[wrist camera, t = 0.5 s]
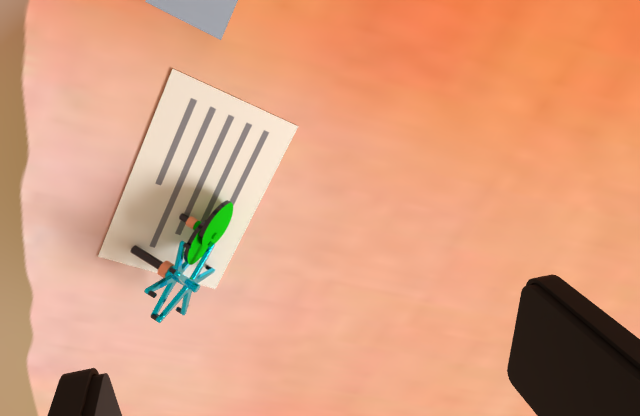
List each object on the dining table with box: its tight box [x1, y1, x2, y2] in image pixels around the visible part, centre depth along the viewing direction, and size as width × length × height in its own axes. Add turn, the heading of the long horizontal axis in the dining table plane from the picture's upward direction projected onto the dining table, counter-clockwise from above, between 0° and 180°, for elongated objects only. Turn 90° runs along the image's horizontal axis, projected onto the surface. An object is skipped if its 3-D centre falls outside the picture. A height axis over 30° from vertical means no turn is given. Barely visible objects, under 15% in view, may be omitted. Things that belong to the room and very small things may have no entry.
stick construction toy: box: [130, 200, 233, 323], centre depth 40 cm, size 12×7×8 cm
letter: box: [98, 69, 298, 289], centre depth 40 cm, size 18×11×1 cm, turn 150°
